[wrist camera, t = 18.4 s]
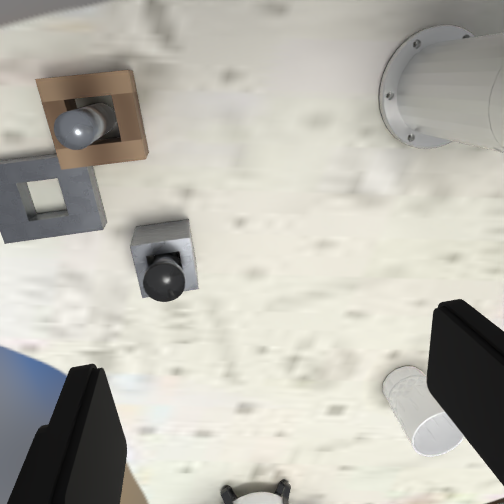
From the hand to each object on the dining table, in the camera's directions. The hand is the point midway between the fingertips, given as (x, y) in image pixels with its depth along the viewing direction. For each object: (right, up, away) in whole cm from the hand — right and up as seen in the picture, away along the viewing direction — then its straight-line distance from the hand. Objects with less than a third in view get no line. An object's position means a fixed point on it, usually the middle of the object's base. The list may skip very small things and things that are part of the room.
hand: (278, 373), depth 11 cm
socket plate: (-22, +10, +32) cm, 40 cm away
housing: (-11, +4, +36) cm, 38 cm away
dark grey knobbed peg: (-11, +4, +36) cm, 38 cm away
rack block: (-16, +17, +30) cm, 38 cm away
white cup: (+22, -17, +51) cm, 58 cm away
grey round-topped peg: (-16, +17, +30) cm, 38 cm away
